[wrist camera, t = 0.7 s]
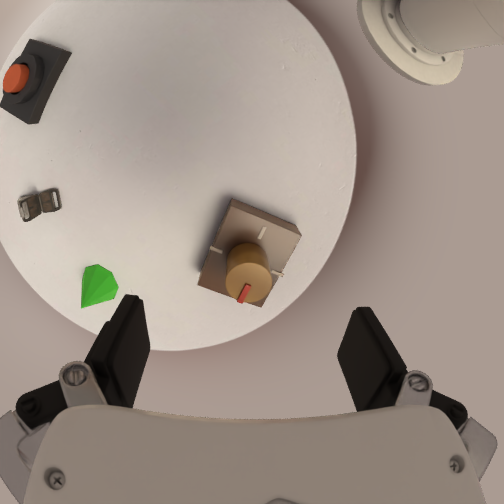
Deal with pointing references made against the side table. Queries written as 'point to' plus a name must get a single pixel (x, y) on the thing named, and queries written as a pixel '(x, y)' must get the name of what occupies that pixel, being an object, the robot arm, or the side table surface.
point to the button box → (35, 80)
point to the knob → (248, 273)
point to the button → (16, 78)
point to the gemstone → (97, 286)
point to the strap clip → (38, 204)
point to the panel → (248, 231)
